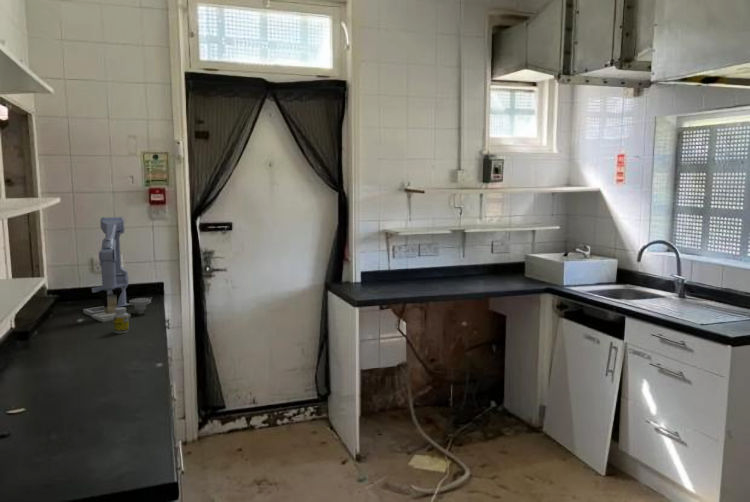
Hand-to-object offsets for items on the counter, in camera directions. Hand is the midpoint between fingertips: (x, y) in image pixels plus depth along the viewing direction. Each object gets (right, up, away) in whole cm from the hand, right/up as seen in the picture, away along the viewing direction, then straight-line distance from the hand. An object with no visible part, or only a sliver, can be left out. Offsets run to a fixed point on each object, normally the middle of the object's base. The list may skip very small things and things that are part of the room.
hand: (110, 306), depth 253 cm
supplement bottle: (+15, -9, -22) cm, 28 cm away
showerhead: (+10, -5, +9) cm, 14 cm away
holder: (-10, -4, +10) cm, 15 cm away
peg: (0, -3, 0) cm, 3 cm away
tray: (0, -5, +1) cm, 5 cm away
